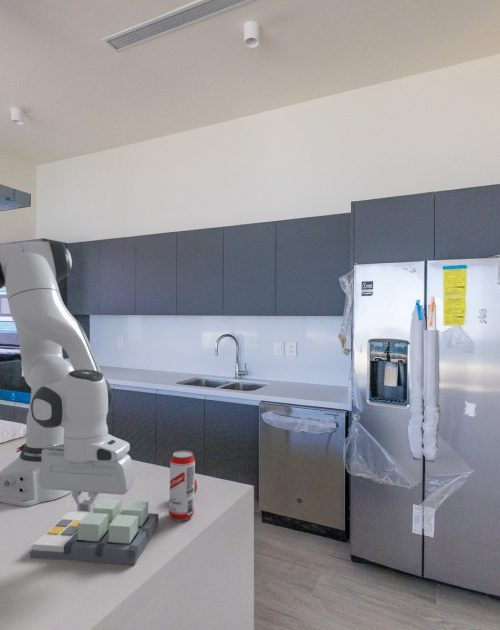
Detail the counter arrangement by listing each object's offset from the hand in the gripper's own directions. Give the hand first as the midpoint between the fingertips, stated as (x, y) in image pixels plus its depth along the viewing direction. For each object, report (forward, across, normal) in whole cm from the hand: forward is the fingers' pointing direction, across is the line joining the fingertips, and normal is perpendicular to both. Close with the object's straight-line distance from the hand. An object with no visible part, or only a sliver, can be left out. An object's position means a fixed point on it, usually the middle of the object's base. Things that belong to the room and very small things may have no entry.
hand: (85, 510), depth 84 cm
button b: (+6, +1, +8) cm, 10 cm away
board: (+9, +1, +5) cm, 10 cm away
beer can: (+10, +15, +18) cm, 26 cm away
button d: (+6, +7, +8) cm, 13 cm away
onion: (+10, +14, +27) cm, 32 cm away
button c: (+6, +8, +2) cm, 10 cm away
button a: (+6, +1, +1) cm, 6 cm away
